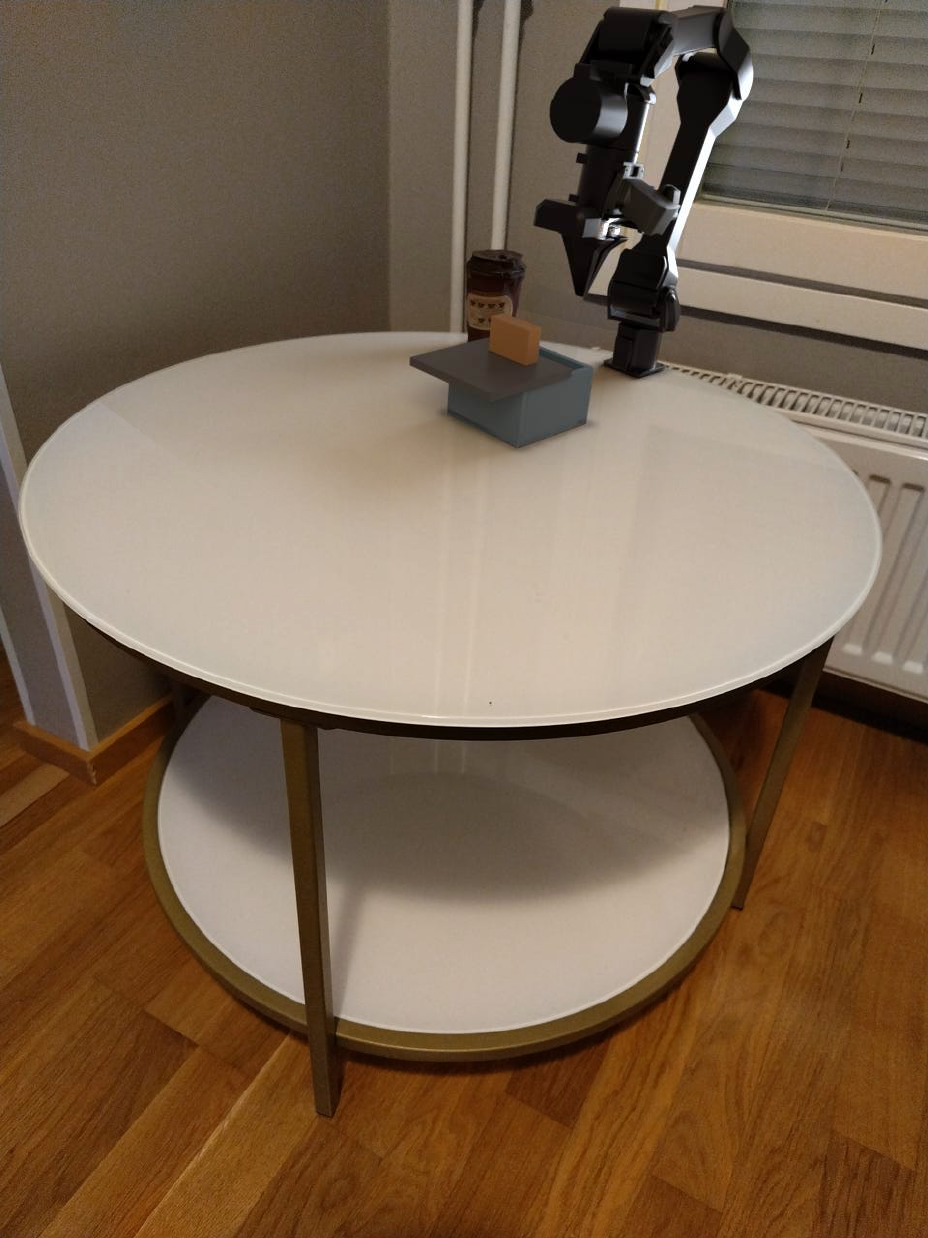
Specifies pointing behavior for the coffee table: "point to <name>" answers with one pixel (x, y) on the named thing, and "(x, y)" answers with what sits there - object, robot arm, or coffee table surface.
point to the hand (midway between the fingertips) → (580, 295)
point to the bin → (529, 406)
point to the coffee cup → (492, 288)
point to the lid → (495, 361)
